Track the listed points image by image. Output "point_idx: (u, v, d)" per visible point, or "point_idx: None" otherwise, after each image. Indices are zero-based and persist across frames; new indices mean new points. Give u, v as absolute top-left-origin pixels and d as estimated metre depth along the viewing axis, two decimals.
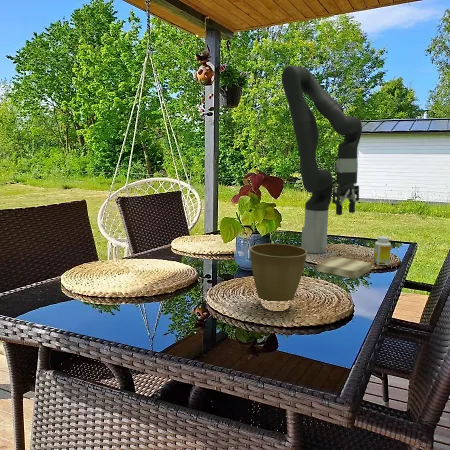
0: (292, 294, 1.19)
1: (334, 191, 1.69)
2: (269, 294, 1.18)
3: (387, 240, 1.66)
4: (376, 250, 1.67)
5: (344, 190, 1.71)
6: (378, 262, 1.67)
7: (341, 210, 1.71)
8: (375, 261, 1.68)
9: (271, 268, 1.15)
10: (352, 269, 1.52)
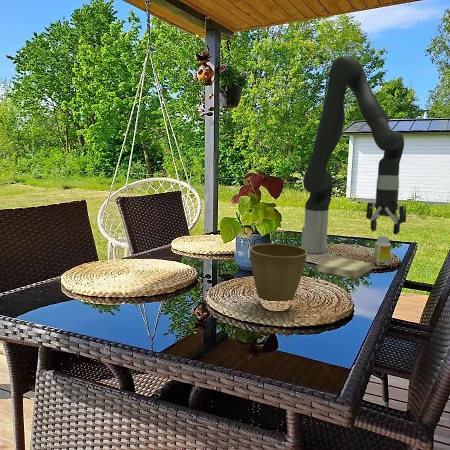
0: (292, 294, 1.19)
1: (403, 210, 1.60)
2: (269, 294, 1.18)
3: (387, 240, 1.66)
4: (376, 250, 1.67)
5: None
6: (378, 262, 1.67)
7: None
8: (375, 261, 1.68)
9: (271, 268, 1.15)
10: (352, 269, 1.52)
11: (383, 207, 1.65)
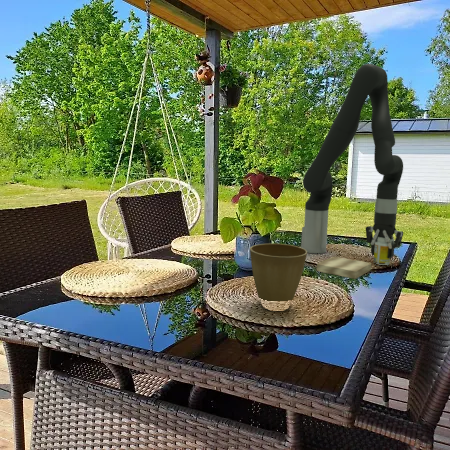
0: (292, 294, 1.19)
1: (400, 236, 1.62)
2: (269, 294, 1.18)
3: None
4: (376, 250, 1.67)
5: None
6: (378, 262, 1.67)
7: None
8: (375, 261, 1.68)
9: (271, 268, 1.15)
10: (352, 269, 1.52)
11: (381, 230, 1.66)
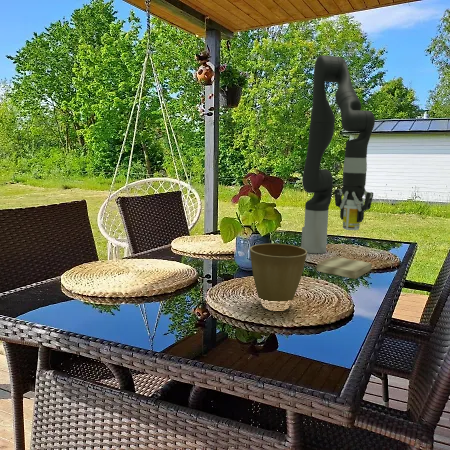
0: (292, 294, 1.19)
1: (370, 197, 1.51)
2: (269, 294, 1.18)
3: None
4: (345, 213, 1.56)
5: None
6: (347, 226, 1.56)
7: None
8: (344, 225, 1.57)
9: (271, 268, 1.15)
10: (352, 269, 1.52)
11: (350, 192, 1.56)
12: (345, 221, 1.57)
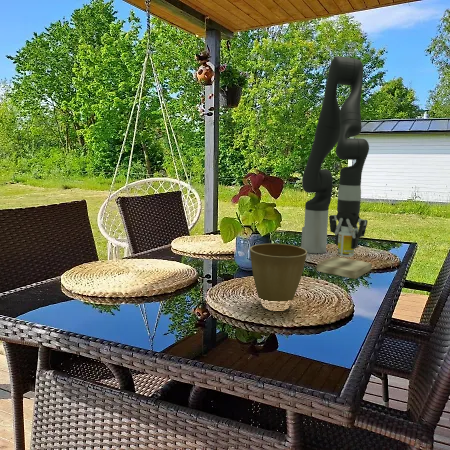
0: (292, 294, 1.19)
1: (364, 225, 1.52)
2: (269, 294, 1.18)
3: None
4: (339, 240, 1.57)
5: None
6: (342, 253, 1.57)
7: None
8: (339, 252, 1.58)
9: (271, 268, 1.15)
10: (352, 269, 1.52)
11: (344, 218, 1.57)
12: (339, 247, 1.57)
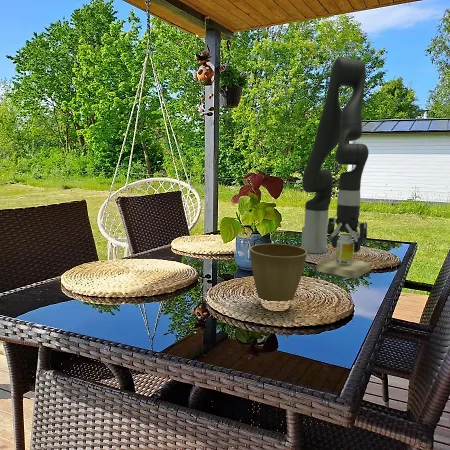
0: (292, 294, 1.19)
1: (364, 227, 1.52)
2: (269, 294, 1.18)
3: (349, 238, 1.57)
4: (338, 248, 1.58)
5: None
6: (340, 261, 1.58)
7: None
8: (337, 260, 1.59)
9: (271, 268, 1.15)
10: (352, 269, 1.52)
11: (344, 223, 1.57)
12: (338, 256, 1.58)
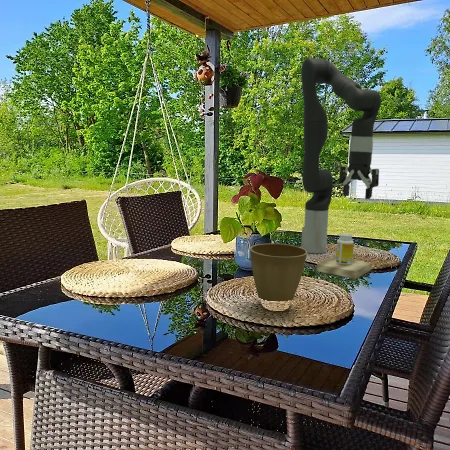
0: (292, 294, 1.19)
1: (376, 173, 1.53)
2: (269, 294, 1.18)
3: (349, 238, 1.57)
4: (338, 248, 1.58)
5: None
6: (340, 261, 1.58)
7: None
8: (337, 260, 1.59)
9: (271, 268, 1.15)
10: (352, 269, 1.52)
11: (356, 170, 1.58)
12: (338, 256, 1.58)
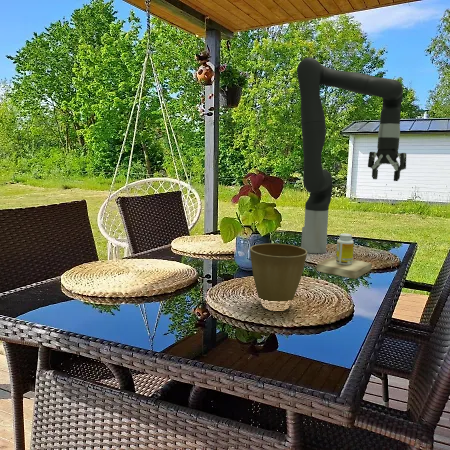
0: (292, 294, 1.19)
1: (404, 157, 1.67)
2: (269, 294, 1.18)
3: (349, 238, 1.57)
4: (338, 248, 1.58)
5: None
6: (340, 261, 1.58)
7: None
8: (337, 260, 1.59)
9: (271, 268, 1.15)
10: (352, 269, 1.52)
11: (384, 155, 1.72)
12: (338, 256, 1.58)
